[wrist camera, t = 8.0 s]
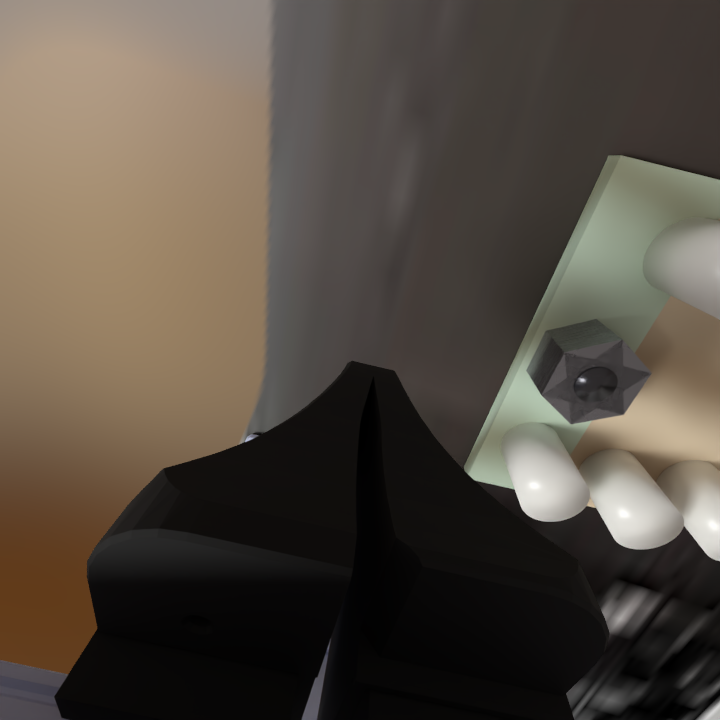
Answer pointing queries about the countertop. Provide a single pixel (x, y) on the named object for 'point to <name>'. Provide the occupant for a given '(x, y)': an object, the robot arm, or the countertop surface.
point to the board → (623, 330)
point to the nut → (587, 372)
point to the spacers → (619, 467)
